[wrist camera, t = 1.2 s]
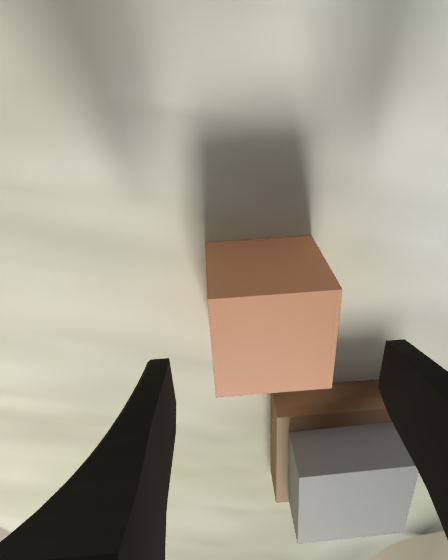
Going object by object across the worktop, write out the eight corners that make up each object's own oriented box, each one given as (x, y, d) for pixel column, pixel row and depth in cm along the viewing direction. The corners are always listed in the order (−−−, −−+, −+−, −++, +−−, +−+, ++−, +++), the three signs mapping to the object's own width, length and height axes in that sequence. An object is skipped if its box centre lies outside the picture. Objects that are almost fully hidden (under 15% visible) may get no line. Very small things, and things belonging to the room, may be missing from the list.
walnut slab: (397, 370, 23) (418, 406, 20) (380, 454, 26) (397, 492, 24) (269, 381, 22) (277, 417, 20) (269, 464, 26) (276, 502, 24)
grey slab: (397, 421, 21) (420, 465, 19) (384, 487, 24) (403, 532, 22) (288, 432, 21) (299, 477, 19) (288, 497, 24) (297, 543, 21)
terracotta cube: (310, 234, 18) (342, 289, 14) (305, 320, 20) (331, 388, 16) (205, 241, 18) (207, 299, 14) (212, 327, 20) (215, 397, 16)
